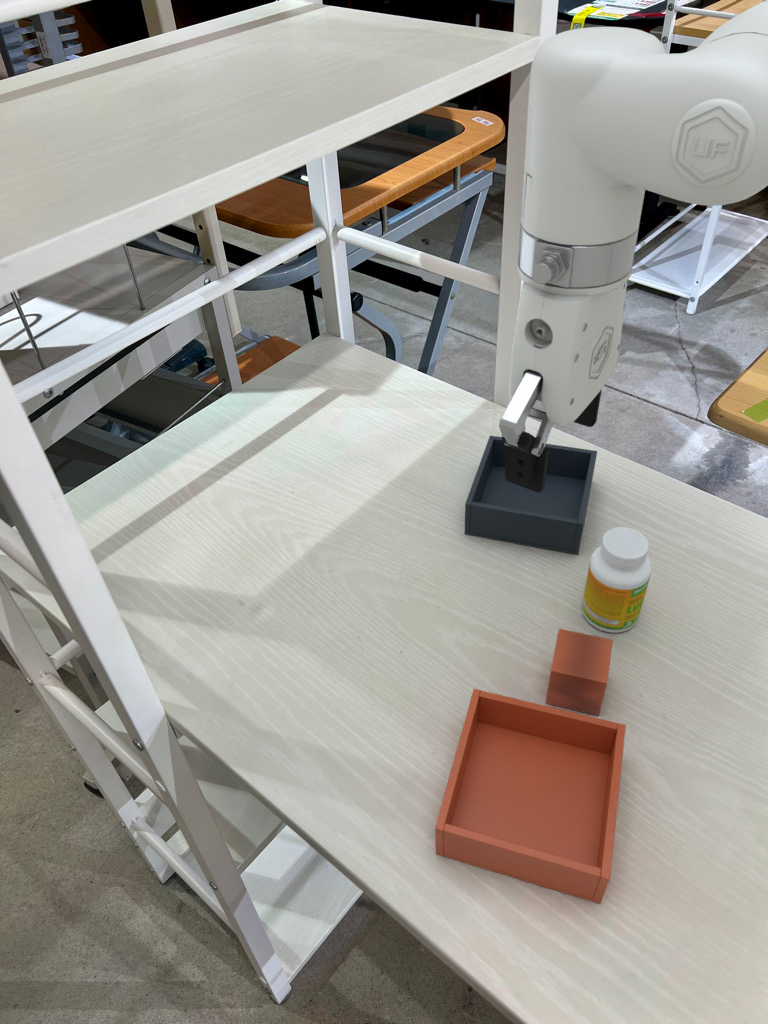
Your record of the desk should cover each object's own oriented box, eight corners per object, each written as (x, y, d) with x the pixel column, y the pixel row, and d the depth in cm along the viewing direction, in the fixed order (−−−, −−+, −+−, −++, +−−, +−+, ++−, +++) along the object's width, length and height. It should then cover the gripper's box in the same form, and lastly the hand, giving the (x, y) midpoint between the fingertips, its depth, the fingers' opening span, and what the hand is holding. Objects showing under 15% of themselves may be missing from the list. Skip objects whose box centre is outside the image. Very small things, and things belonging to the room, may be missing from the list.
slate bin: (592, 481, 86) (597, 450, 83) (578, 555, 78) (583, 524, 75) (488, 465, 90) (489, 435, 87) (464, 534, 81) (465, 504, 78)
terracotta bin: (617, 753, 62) (625, 724, 59) (600, 904, 53) (609, 879, 50) (472, 717, 65) (473, 688, 62) (435, 854, 57) (434, 828, 53)
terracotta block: (604, 673, 67) (613, 639, 64) (599, 716, 64) (607, 683, 61) (553, 661, 69) (558, 628, 65) (545, 703, 65) (550, 670, 62)
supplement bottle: (627, 643, 70) (646, 573, 63) (572, 621, 72) (585, 551, 65) (645, 604, 73) (665, 533, 66) (592, 584, 75) (606, 513, 68)
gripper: (572, 320, 43) (546, 531, 55) (676, 213, 53) (635, 411, 65) (460, 291, 46) (458, 496, 58) (577, 196, 56) (556, 387, 68)
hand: (551, 451), depth 61 cm, fingers open, 9 cm apart
